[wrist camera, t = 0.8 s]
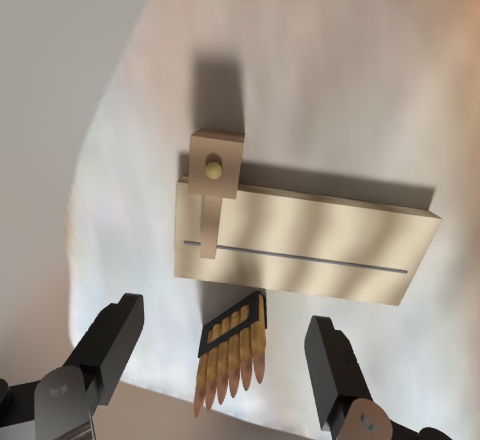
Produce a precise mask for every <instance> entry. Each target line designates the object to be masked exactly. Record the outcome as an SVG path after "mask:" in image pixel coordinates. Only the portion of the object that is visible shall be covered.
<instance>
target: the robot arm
mask: <svg viewBox="0 0 480 440" xmlns="http://www.w3.org/2000/svg"><path fill="white" fill-rule="evenodd" d="M143 325H144V303H143V295H140V294H131V293H125V294H124V295H123V296H122V298H121V300H120V301H119V303H118V304H114V303H111V304H109V305H108V306H107V307H105V308H104V309H103V310H102V311H100V313H99V314H98V316H97V317H96V319H95V320H94V323H92V324H91V326H90V327H89V329H88V331H87V332H86V333H85V335H84V336H83V337H82V339H81V340H80V342H79V343H78V345H77V346H76V348H75V349H74V350H73V352H72V353H71V355H70V356H69V358H68V359H67V361H66V362H65V363H64V364H63V366H62V367H59V368H56V369H55V370H53V371H51V372H49V373H48V374H47V375H45V376H44V377H43V378H42V380H39V381H35V382H31V383H26V384H20V385H15V386H10V387H9V386H8V384H7V382H6V381H5V380H3V379H0V440H96V434H95V429H94V423H93V419H92V416H93V414H94V412H95V410H96V408H97V406H98V405H105V406H107V405H108V403H109V401H110V399H111V397H112V395H113V392H114V390H115V388H116V386H117V384H118V382H119V380H120V377H121V375H122V373H123V371H124V369H125V367H126V364H127V362H128V360H129V358H130V356H131V354H132V351H133V349H134V347H135V345H136V343H137V341H138V338H139V336H140V334H141V332H142V329H143ZM304 347H305V355H306V359H307V364H308V369H309V374H310V379H311V383H312V388H313V393H314V398H315V403H316V408H317V412H318V417H319V422H320V427H321V431H330V432H331V436H332V440H452V439H451V438H450V437H448V436H447V435H446V434H444V433H443V432H441V431H439V430H437V429H435V428H431V427H426V428H423V429H422V430H421V431H420V432H419V433H417V432H415V431H413V430H411V429H408V428H406V427H404V426H402V425H399V424H397V423H395V422H393V421H392V420H390V419H389V417H388V416H387V414H386V413H385V412H384V410H383V409H382V408H381V407H380V406H379V405H377V404H376V403H374V401H373V399H372V397H371V394H370V392H369V389H368V387H367V384H366V382H365V379H364V377H363V374H362V372H361V369H360V367H359V364H358V363H357V359H356V357H355V354H354V353H353V352H354V351H353V349H352V346H351V344H350V341H349V340H348V339H347V337H346V336H345V335H344V334H343V332H342V331H341V330H335V329H334V326H333V323H332V321H331V319H330V318H329V317H323V316H314V315H313V316H312V318H311V321H310V324H309V327H308V331H307V334H306V337H305V343H304Z"/></svg>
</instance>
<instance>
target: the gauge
mask: <svg viewBox="0 0 480 440" xmlns="http://www.w3.org/2000/svg"><path fill="white" fill-rule="evenodd" d="M244 138H245V134H240V133H233V132H226V131H219V130H212V129H205V128H202V129H200V130H199V131H197V132H195V133H194V134H192V135H191V136H190V154H189V174H188V193H191V194H198V195H205V198H204V210H203V222H202V234H201V247H200V258H206V259H214V260H215V255H216V250H217V241H218V232H219V223H220V214H221V206H222V198H227V199H234V200H236V196H237V189H238V182H239V174H240V167H241V160H242V152H243V145H244Z"/></svg>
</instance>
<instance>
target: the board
mask: <svg viewBox="0 0 480 440" xmlns="http://www.w3.org/2000/svg"><path fill="white" fill-rule="evenodd" d="M204 198H205V195H198V194H191V193H188V177H187V176H182V177H181V178H180V180H179V181H178V182H177V205H176V234H175V264H174V277H181V278H189V279H196V280H204V281H211V282H219V283H227V284H234V285H242V286H250V287H257V288H265V289H273V290H280V291H288V292H296V293H303V294H311V295H319V296H326V297H334V298H342V299H349V300H357V301H364V302H372V303H380V304H387V305H395V306H399V304H400V302H401V300H402V298H403V296H404V294H405V292H406V290H407V288H408V287H409V285H410V283H411V281H412V279H413V277H414V275H415V273H416V271H417V269H418V267H419V265H420V263H421V261H422V259H423V257H424V255H425V253H426V251H427V249H428V247H429V245H430V244H431V242H432V240H433V238H434V236H435V234H436V232H437V230H438V228H439V226H440V224H441V222H442V220H443V219H442V218H440V217H439V216H437V215H435V214H434V213H432V212H431V211H429V210H422V209H415V208H408V207H401V206H394V205H387V204H380V203H373V202H365V201H358V200H351V199H344V198H337V197H330V196H323V195H316V194H308V193H301V192H294V191H287V190H280V189H273V188H266V187H259V186H251V185H244V184H238V189H237V196H236V200H234V199H227V198H222V206H221V214H220V223H219V232H218V241H217V250H216V255H215V260H214V259H206V258H200V247H201V234H202V222H203V210H204Z"/></svg>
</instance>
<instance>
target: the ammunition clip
mask: <svg viewBox="0 0 480 440" xmlns="http://www.w3.org/2000/svg"><path fill="white" fill-rule="evenodd" d="M266 328H267V307H266V297H264V296H263V295H262V294H261V293H260V292H259V291H255V292H254V293H252V294H251V295H249V296H248V297H246V298H245V299H243V300H242V301H240V302H239V303H237V304H236V305H234V306H233V307H231V308H230V309H228V310H227V311H226V312H224V313H223V314H221V315H220V316H218V317H217V318H215V319H214V320H212V321H211V322H209V323H208V324H206V325H205V326H203V329H202V335H201V340H200V346H199V352H198V358H200V360H199V365H198V371H197V377H196V391H195V398H194V413H195V417H196V418H197V417H198V415H199V414H200V412H201V409H202V406H203V403H204V399H205V401H206V408H207V411H209V410H210V409H211V407H212V405H213V402H214V399H215V394H216V388H217V395H218V401H219V404H220V405H221V404H222V403H223V401H224V399H225V396H226V392H227V386H228V379H229V388H230V393H231V396H232V398H234V397H235V395H236V393H237V390H238V385H239V379H240V369H241V378H242V383H243V387H244V389H245V391H247V390H248V388H249V386H250V382H251V376H252V362H253V363H254V371H255V375H256V379H257V381H258V383H259V384H261V382H262V380H263V376H264V370H265V347H266V338H265V329H266Z"/></svg>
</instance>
